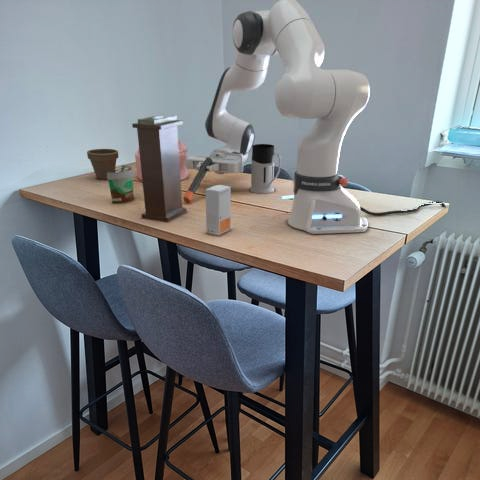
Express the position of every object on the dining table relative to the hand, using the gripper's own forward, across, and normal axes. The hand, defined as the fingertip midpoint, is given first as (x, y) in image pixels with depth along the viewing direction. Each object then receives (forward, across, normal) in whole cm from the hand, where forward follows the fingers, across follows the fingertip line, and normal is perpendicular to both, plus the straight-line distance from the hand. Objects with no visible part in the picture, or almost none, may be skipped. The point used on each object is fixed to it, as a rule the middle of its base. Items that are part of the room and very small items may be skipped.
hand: (203, 168), depth 157 cm
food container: (+17, -20, +9) cm, 28 cm away
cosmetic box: (+32, +22, +9) cm, 40 cm away
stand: (+25, 0, +9) cm, 27 cm away
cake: (-16, -27, +9) cm, 32 cm away
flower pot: (-6, -46, +9) cm, 47 cm away
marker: (+4, 0, +3) cm, 5 cm away
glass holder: (-12, +18, +9) cm, 24 cm away
